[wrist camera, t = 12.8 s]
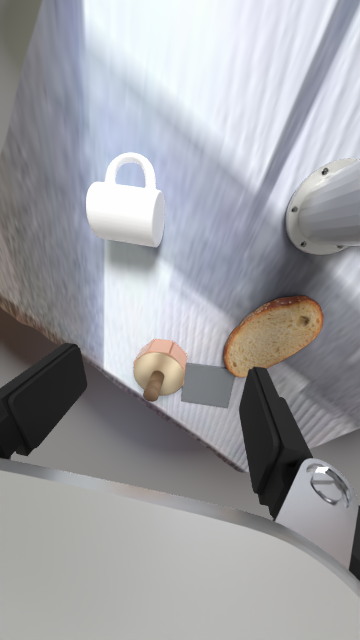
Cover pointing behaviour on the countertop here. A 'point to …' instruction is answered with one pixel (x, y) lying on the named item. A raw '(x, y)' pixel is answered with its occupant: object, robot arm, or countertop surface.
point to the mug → (127, 206)
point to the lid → (158, 375)
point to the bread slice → (272, 334)
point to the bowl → (165, 351)
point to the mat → (207, 385)
